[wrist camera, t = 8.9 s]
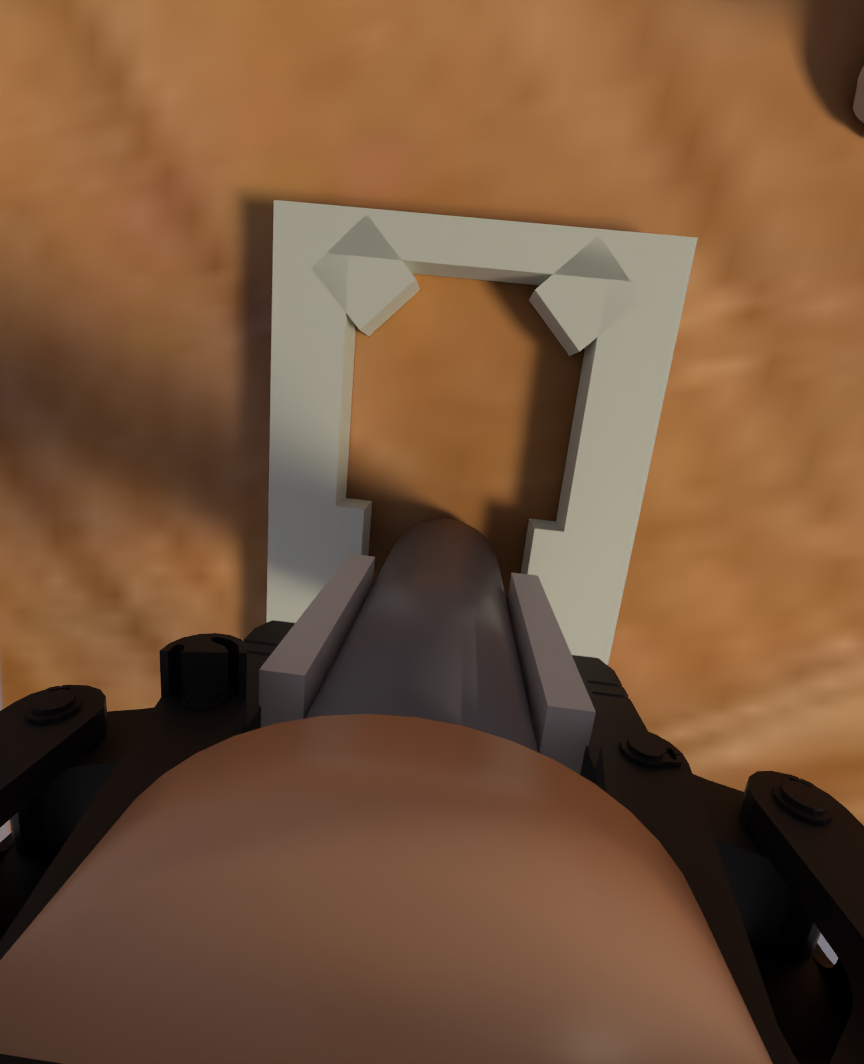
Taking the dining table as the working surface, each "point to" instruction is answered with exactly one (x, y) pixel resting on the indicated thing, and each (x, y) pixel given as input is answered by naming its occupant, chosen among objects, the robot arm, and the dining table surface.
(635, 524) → the keyhole board
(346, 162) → the dining table surface
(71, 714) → the robot arm
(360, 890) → the peg
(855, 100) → the decorative stone
